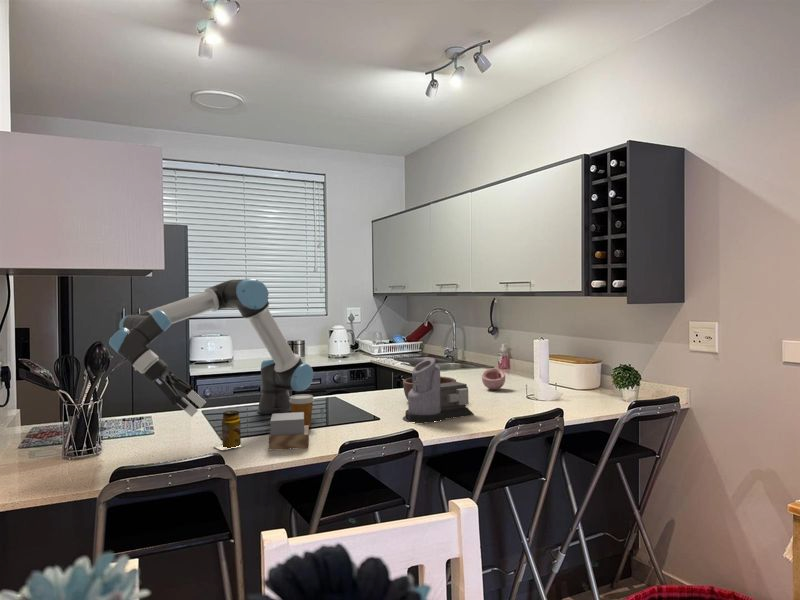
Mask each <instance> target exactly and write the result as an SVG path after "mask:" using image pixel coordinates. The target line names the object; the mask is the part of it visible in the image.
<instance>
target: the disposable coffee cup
mask: <svg viewBox="0 0 800 600" xmlns="http://www.w3.org/2000/svg"><path fill="white" fill-rule="evenodd" d="M314 400H315V398H314V395H312V394H309V393H307V394H304V393H303V394H302V393H301V394H294V395H291V396H290V400H289V401H290V404H291V411H290V412H291V413H295V412H304V425H309V427H310V428H311V424H312V413H313V405H314V404H313V403H314Z"/></svg>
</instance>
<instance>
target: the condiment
mask: <svg viewBox="0 0 800 600" xmlns="http://www.w3.org/2000/svg"><path fill="white" fill-rule="evenodd" d="M241 434H242V433H241V419H240V412H239V411H238V410H226V411H223V413H222V420H221V435H222V436H221V445H223V447H227V448H231V447H236V446H239V445H240V444H241V443H242V441H241V439H242V438H241V436H242V435H241ZM241 445H242V444H241Z"/></svg>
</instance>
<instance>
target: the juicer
mask: <svg viewBox="0 0 800 600" xmlns="http://www.w3.org/2000/svg"><path fill="white" fill-rule="evenodd" d="M411 374H412V375H411V376H412V377H411V378H412V383H413V388H412V389H411V390H410V391H409V393H408V400H407V403H408V404H407V406H408V409H407V410H405V416H403V417H402V420H403V421H404V422H407V423H409V422H415V423H414V424H416V423H423V424H425V423H424V422H434V421H440V420H443V419H444V420H446V419H445V418H451V419H454V418H453V417H457V418H462V417H461V416H464V417H470V416H474V415H475V414H474V413H473V412H472V411H471V410H470V408H469V407H467V405H469V387H468V385H467V383H463V382H459V381H456V382H450V383H442V384H440V376H441V367H440V365H438V364H436V359H435V358H434V357H430V358H426V359H423V360H422V361H421V362H418V363H417V364H416V365H415V366H414V368H413V369H412V372H411ZM444 420H443V421H444ZM440 422H441V421H440Z"/></svg>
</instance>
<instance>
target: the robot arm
mask: <svg viewBox="0 0 800 600" xmlns="http://www.w3.org/2000/svg"><path fill="white" fill-rule="evenodd" d="M269 296H270V295H269V291H268V288H267V286H266V285H265V284H264V282H262V281H261V280H259V279H256V278H255V279H254V278H244V279H229V280H226V281H223V282H220V283H219V284H215V285H213V286H210V287H207V288H205V289H204V291H203V292H200V293H198V294H194V295H191V296H188V297H186V298H182V299H179V300H176V301H173V302H170V303H167V304H164V305H162V306H161V305H160V306H157V307H156V308H155V307H154V308H152V309H149V310H146V311H143V312H140V313H137V314H129V315H126V316H123V317H122V318H121V319H120V321H119V324H118V325H119V329H118V330H117V331H116V332H115V333H114V334H113V335H112V336H111V337H110V338H109V341H108V344H109V346H110V347H111V348H112V349H113V350H114V351H115V352H116V353H117V354H118V355H119V356H120V357H122V358H123V359H124V360H125V359H126V358H127V357H128V356H129V358H127V359H126V360H125V361H126V362H128V364H130V366H132V367H133V368H134V371H135V372H136V371H137V372H139V373H140V374H143V378H145V379H146V380H147V381H149V382H150V383H153V382H154V384H155V385H156V386H157V387H158V388H159V389H160V390H161V391H162V393H163V394H164V395H165V396H166V398H167V399H168V400H169V402H171V404H172V405H173V406H175V405H178V406H179V408H181V409H182V410H183V411H185V412H186V413H187V414H188V416H189V417H193V416H194V415H195V414H196V413H197V412H198V411H199V409H202V407H203V406H204V405H205V404H206V403H207V401H206V400H205V399H204V398H202V397H201V396H200V395H199V394H198V393H197V392H196V391H194V386H193V385H190V384H189V383H188V382H186V381H184V380H183V379H182V378H180V377H179V376H177V375H176V374H175V373H173V372H172V371H171V370H169V371H167V369H168V368H169V365H168V364H167V363H166V362H165V361H164V360H163V359H160V357H159V356H158V354H157V353H155V352H154V351H153V350H151V348H149V345H151V343H153V342H154V341H155V340H156V339H158V338H159V337H160V336H161V335H163V333H165V332H166V331H167V330H168V329H169V328H170V327H171V325H173V324H175V323H179V322H181V321H184V320H187V319H189V318H192V317H196V316H198V315H201V314H203V313H207V312H209V311H212V312H217V311H220V310H225V309H237V310H238V311H239V314H240V315H241V316H242V318H243V319H247V320H249V322H250V324H251V325H252V327H253V328H254V330H255V332H256V334H257V335H258V337H259V339H260V340H261V342H262V345H264V347H265V349H266V351H267V352H268V354H269V356H270V357H271V359H265V360H263V361H261V365H260V376H261V377H260V380H261V381H260V382H261V386H260V387H261V394H260V395H261V396H260V400H259V402H258V405H257V412H258V413H260V414H262V415H272V414H277V413H291V412H292V411H291V404H290V401H289V400H290V397H291V396H290V393H289V391H293V392H304V391H305V390H307V389H308V388H310V386H311V384H312V382H313V378H314V370H313V367H312V366H311V365H310V364H309V363H305V362H303V359H301V357H300V355H299V354H297V353H294V352H293V350H292V348H291V346H290V345H289V343H288V342H287V339H286V337H285V336H284V335H283V332H282V331H281V329H280V328H279V325H278V324H277V322H276V320H275V318H274V317H273V315H272V313H271V312H270V311H271V310H269V306H270V302H269ZM180 392H181V393H183V394H185V395H186V397H187V398H188V399H189V400H190V401H192V402H193V403H194V404H195V406H194V405H193V404H192V403H191V402H190V401H188V400H187V399H186V398H185V397H183V396H181V395H180ZM196 406H198V408H199V409H197V408H196Z"/></svg>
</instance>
